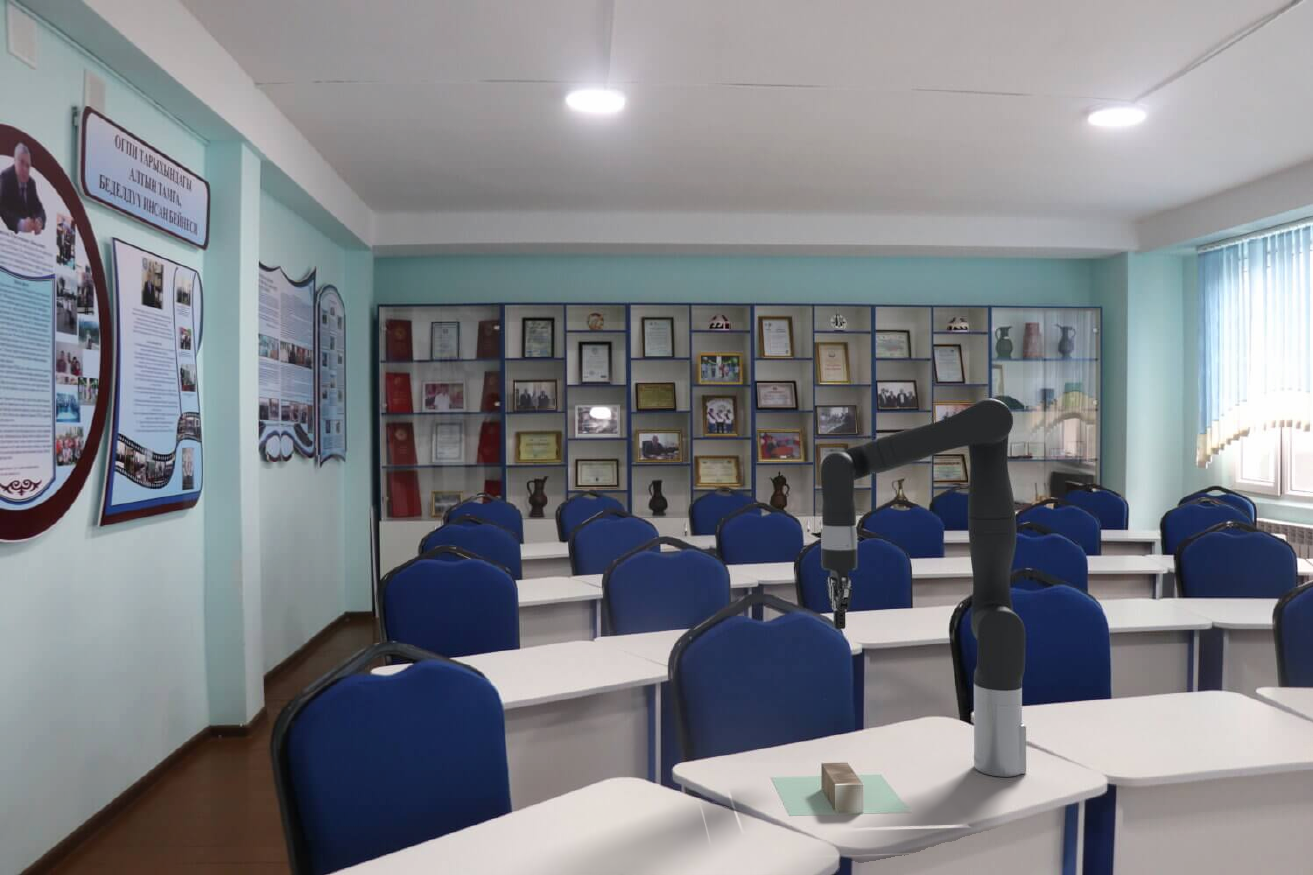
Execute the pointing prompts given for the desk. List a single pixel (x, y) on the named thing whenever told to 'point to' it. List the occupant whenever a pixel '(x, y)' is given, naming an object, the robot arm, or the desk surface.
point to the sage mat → (810, 799)
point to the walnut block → (842, 787)
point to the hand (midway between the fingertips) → (839, 628)
